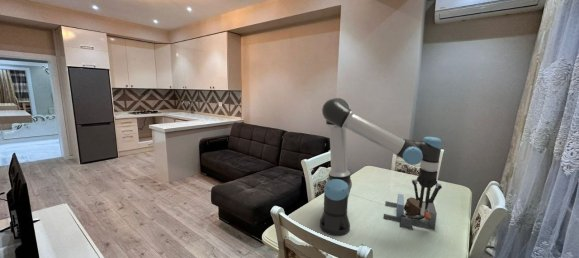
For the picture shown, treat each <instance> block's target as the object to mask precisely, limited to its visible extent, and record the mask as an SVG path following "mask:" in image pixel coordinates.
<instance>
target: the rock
mask: <svg viewBox="0 0 579 258" xmlns="http://www.w3.org/2000/svg"><path fill="white" fill-rule="evenodd" d="M404 205H405V206H404V212H405V215H408V216H417V215H421V213H420V212H421V208H419V201H418V200H416V197H408V198H406V202H405V203H404ZM425 212H427V210H426V209H425V211H424V213H425ZM424 219H425V218H424V217H423V218H414V219H413V220H415V221H420V220H424Z"/></svg>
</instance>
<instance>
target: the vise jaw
mask: <svg viewBox="0 0 579 258" xmlns="http://www.w3.org/2000/svg"><path fill="white" fill-rule="evenodd" d="M396 203H397V208H396V210H395V211H396V213H395V214H396V215H395V216H397V217H401V214H403V215H405V213H404V212H405V210H404V205H405V196H404V194H402V193H397V199H396Z"/></svg>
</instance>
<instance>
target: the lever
mask: <svg viewBox="0 0 579 258" xmlns="http://www.w3.org/2000/svg"><path fill="white" fill-rule="evenodd" d="M405 217H406V218H411V219H412V220H414V218H423V217H424V218H423V219H425V220H426V219H430V218H431V215H430V213H428V212H425V213H424V216H423V215H417V216H409V217H408V216H405Z"/></svg>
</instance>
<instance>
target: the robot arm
mask: <svg viewBox="0 0 579 258" xmlns="http://www.w3.org/2000/svg"><path fill="white" fill-rule="evenodd" d="M321 112H322V113H321V114H322V116H323V118H324V119H325V124H326V126H327V127H328V128H329V129H328V130H329V149H330V171H328V180H327V181H326V182H325V184H324V186H323V212H322V214H321V216H320V219H319V229H320V230H321V231H323V232H324V233H326V234H328V235H331V236H338V237H339V236H344V235H346V234H348V233H349V232H350V230H351V229H350V228H351V223H350V219H349V216H348V203H349V202H348V201H349V197H350V193H351V189H352V186H353V183H352V179H351V172H350V170H348V156H347V155H348V153H347V130H349V131H350V132H352V133H354V134H356V135H358V136H361V137H362V138H363V139H365V140H367V141H370V142H371V143H372V144H375V145H377V146H379V147H380V148H382V149H384V150H386V151H387V152H390V153H392V154H393V155H395V156H397V157H398V158H400V159H403V161H404V162H405V163H407V164H408V165H411V166H417V165H418V164H419V169H418V170H419V171H418V176H417V178H415V179H411V183H412V185H413V188H414V194H415V195H414V196H415V199H416V200H418V201H419V208H421V212H420V213H421V215H423V216H424V211H425V209H427V208H428V204H429V203H433V202H434V201H435V199H436V197H437V194H438V193H439V192H440V190H441V189H443V186H442V184H440V183H438V180H437V178H438V170H439V164H440V157H441V151H442V143H443V142H442V139H441V138H439V137H435V136H425V137H423V139H422V140H417V139H416V140H415V139H406V138H401V137H399V136H398V135H395V134H393V133H391V132H389V131H387V130H386V129H384V128H382V127H380V126H378V125H377V124H374V123H372V122H371V121H369V120H367V119H366V118H365V119H364V118H363V117H361V116H359V115H357V114H356V113H354V111H353V109H351V108H350V107H349V104H348V102H347V101H346V100H345V99H344V98H340V97H335V98H331V99H329V100H327V101H326V102H324V104H323V106H322V108H321ZM418 184H419V185H420V194H419V192H418ZM434 186H435V188H434V190H433V191H432V194H431V190H432V188H433V187H434ZM425 189H426V192H425ZM425 193H426V194H425ZM424 195H425V196H424ZM430 195H431V196H430ZM424 197H425V200H424Z"/></svg>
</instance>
